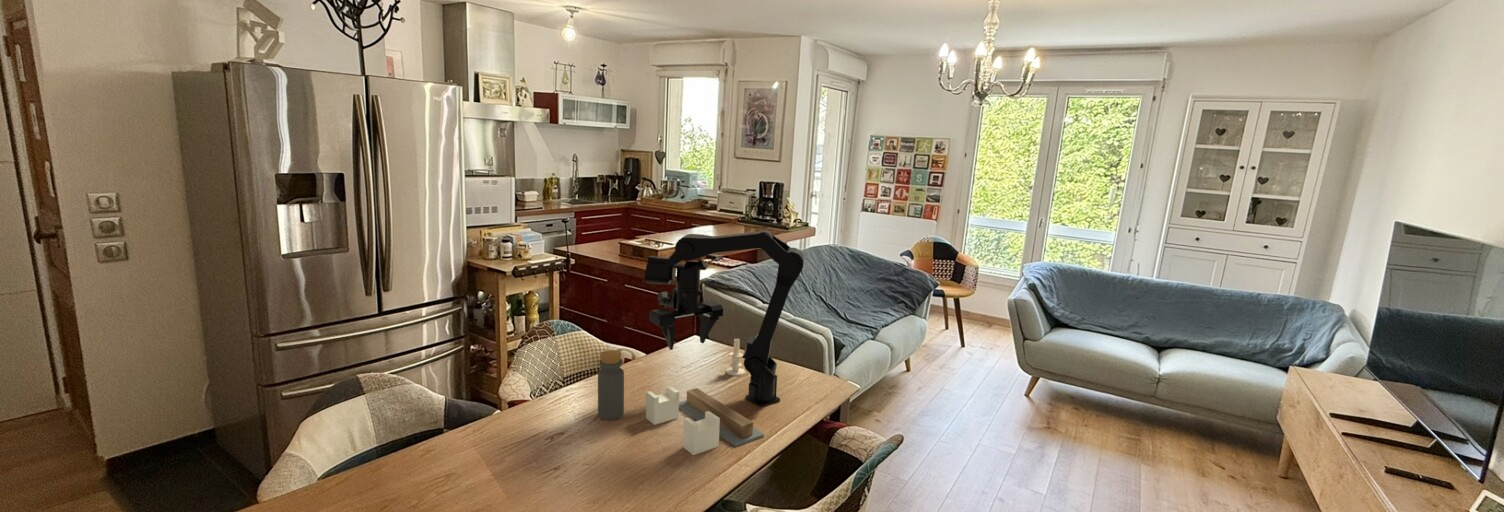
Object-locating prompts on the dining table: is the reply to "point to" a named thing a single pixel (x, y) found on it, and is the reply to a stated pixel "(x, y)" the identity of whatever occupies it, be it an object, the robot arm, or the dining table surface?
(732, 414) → the rail
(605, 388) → the bottle
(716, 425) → the post
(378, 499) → the dining table surface
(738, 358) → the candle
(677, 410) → the post
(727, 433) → the mat
